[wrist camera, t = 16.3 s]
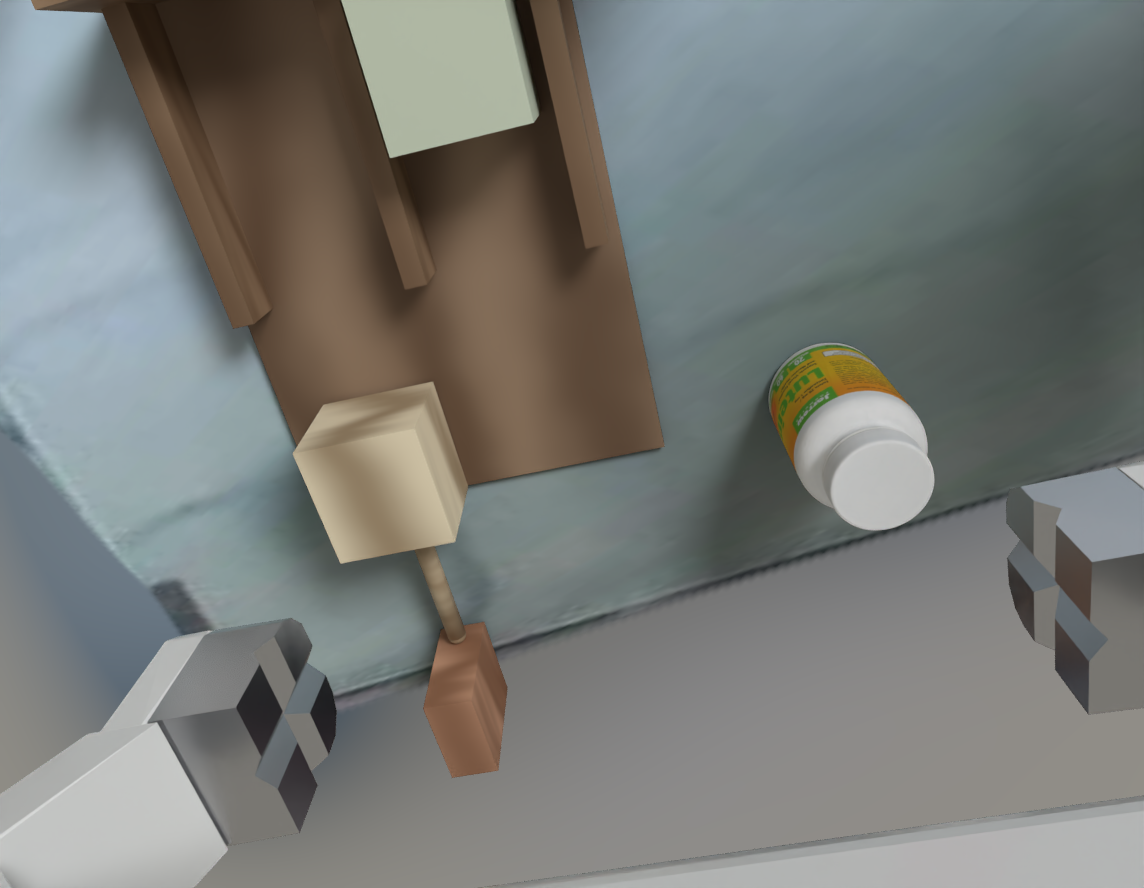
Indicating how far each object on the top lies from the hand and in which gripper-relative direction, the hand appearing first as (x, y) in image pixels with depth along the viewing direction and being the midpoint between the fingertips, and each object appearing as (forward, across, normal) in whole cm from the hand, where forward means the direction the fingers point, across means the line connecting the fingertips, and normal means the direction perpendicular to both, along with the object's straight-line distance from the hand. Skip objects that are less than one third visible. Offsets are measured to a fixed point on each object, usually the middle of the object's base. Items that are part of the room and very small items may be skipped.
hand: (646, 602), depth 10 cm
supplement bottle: (+31, -8, +12) cm, 34 cm away
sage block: (+31, +5, -7) cm, 32 cm away
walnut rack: (+31, +9, 0) cm, 32 cm away
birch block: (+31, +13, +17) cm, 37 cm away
